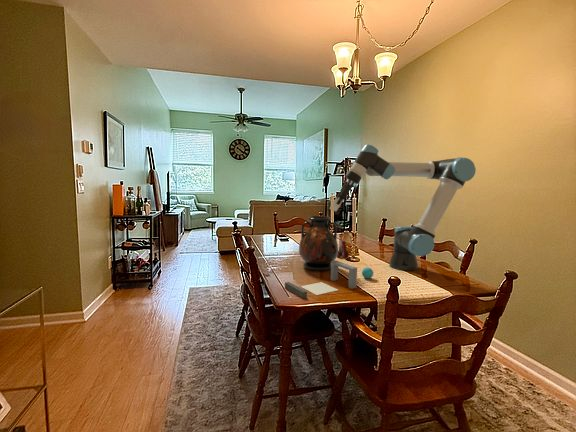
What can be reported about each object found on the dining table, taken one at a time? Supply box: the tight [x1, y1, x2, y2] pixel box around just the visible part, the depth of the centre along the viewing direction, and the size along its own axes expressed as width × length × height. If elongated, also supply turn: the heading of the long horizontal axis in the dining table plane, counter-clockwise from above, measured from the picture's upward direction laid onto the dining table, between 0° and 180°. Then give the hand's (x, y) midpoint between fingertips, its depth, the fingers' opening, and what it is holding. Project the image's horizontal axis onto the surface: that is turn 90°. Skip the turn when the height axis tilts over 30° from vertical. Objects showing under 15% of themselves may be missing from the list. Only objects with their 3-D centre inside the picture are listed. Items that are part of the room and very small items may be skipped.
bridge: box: [330, 259, 358, 289], centre depth 145 cm, size 3×14×9 cm, turn 32°
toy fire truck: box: [336, 238, 350, 259], centre depth 197 cm, size 7×12×10 cm, turn 3°
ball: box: [361, 266, 374, 280], centre depth 153 cm, size 6×6×6 cm
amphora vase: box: [298, 215, 339, 272], centre depth 169 cm, size 22×22×28 cm
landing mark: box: [299, 281, 339, 296], centre depth 138 cm, size 12×12×1 cm
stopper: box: [284, 281, 308, 299], centre depth 132 cm, size 2×14×2 cm, turn 32°
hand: (332, 210), depth 156 cm, fingers open, 13 cm apart
